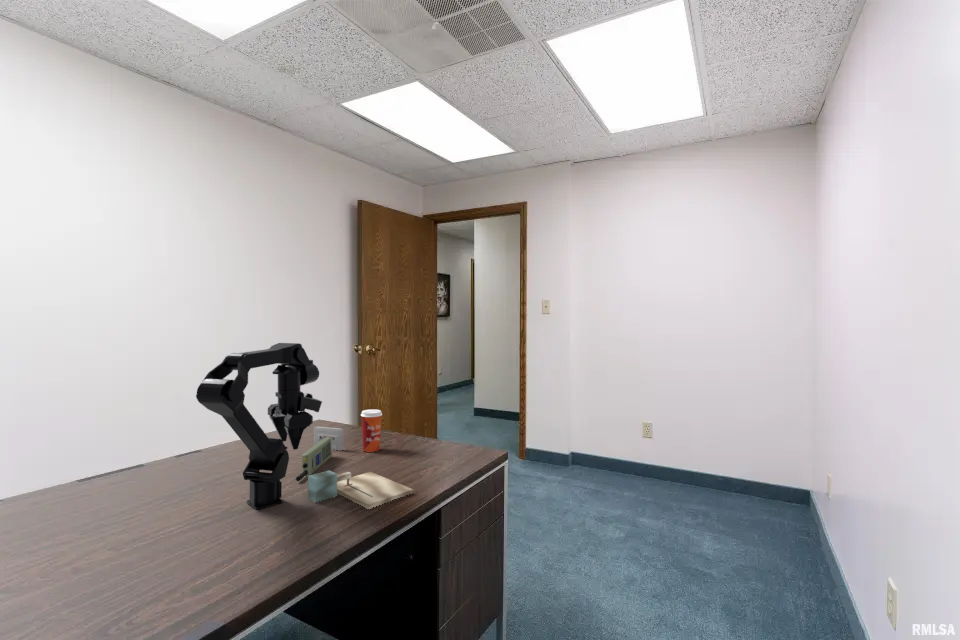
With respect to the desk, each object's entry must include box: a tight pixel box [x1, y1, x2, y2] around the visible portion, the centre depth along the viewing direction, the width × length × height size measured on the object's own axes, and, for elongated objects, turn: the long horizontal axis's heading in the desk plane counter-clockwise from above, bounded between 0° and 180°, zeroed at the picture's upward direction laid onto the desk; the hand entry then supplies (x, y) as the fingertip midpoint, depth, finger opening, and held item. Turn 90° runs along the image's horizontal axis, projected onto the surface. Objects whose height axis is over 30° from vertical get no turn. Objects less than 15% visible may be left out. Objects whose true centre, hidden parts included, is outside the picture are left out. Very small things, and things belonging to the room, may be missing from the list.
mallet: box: [307, 469, 352, 503], centre depth 120 cm, size 11×4×6 cm, turn 137°
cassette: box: [313, 426, 345, 451], centre depth 161 cm, size 12×2×8 cm, turn 74°
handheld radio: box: [295, 436, 333, 482], centre depth 140 cm, size 7×3×25 cm
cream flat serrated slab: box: [337, 471, 414, 510], centre depth 122 cm, size 14×20×1 cm
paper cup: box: [360, 409, 383, 453], centre depth 160 cm, size 8×8×14 cm
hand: (289, 445), depth 123 cm, fingers open, 9 cm apart
